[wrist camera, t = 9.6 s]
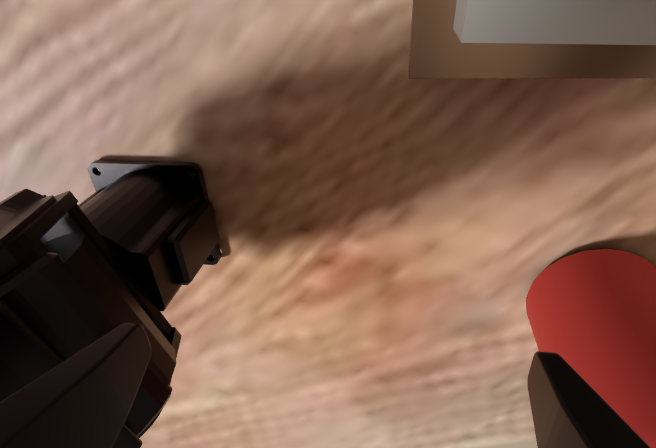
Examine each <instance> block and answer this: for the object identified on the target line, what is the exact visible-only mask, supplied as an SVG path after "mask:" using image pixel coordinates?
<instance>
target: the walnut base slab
mask: <svg viewBox="0 0 656 448" xmlns="http://www.w3.org/2000/svg"><path fill="white" fill-rule="evenodd" d="M456 3H457V0H413V10H412V27H411V44H410V61H409V79H476V78H656V45H605V44H526V43H461V41H460V39H459V38H458V36H457V34H456V32H455V31H454V29H453V26H454V18H455V11H456Z"/></svg>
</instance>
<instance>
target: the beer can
mask: <svg viewBox="0 0 656 448" xmlns="http://www.w3.org/2000/svg"><path fill="white" fill-rule="evenodd" d="M526 310H527V315H528V318H529V321H530V324H531V327H532V330H533V334H534V337H535V340H536V343H537V346H538V349H539V351H543V352H555V353H557V354H559V355H560V356H561V357H562V358H563V359H564V360H565V361H566V362H567V363H568V364H569V365H570V366H571V367H572V368H573V369H574V370H575V371H576V372H577V373H578V374H579V375H580V376H581V377H582V378H583V379H584V380H585V381H586V382H587V383H588V384H589V385H590V386H591V387H592V388H593V389H594V390H595V391H596V392H597V394H598V395H599V396H600V397H601V398H602V399H603V400H604V401H605V402H606V403H607V404H608V405H609V406H610V407H611V408H612V409H613V410H614V411H615V412H616V413H617V414H618V415H619V416H620V417H621V418H622V419H623V420H624V421H625V422H626V423H627V424H628V425H629V426H630V427H631V428H632V429H633V430H634V431H635V432H636V433H637V434H638V435H639V436H640V437H641V438H642V439H643V440H644V441H645V442H646V443H647V444H648V445H649V447H650V448H656V267H655V266H654V265H653V264H652V263H651V262H650V261H649V260H646V259H644V258H642V257H640V256H637V255H635V254H633V253H630V252H628V251H620V250H613V249H597V250H587V251H581V252H578V253H575V254H572V255H569V256H566V257H563V258H561V259H560V260H558V261H556V262H555V263H553V264H552V265H550V266H548V267H547V268H545V269H544V270H543V271H542V272H541V273H540V275H539V276H538V277H537V278H536V279H535V280H534V281H533V283H532V285H531V287H530V290H529V292H528V295H527V297H526Z"/></svg>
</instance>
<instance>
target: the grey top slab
mask: <svg viewBox="0 0 656 448" xmlns="http://www.w3.org/2000/svg"><path fill="white" fill-rule="evenodd" d="M453 29H454V31H455V32H456V34H457V36H458V38H459V39H460V41H461V43H526V44H605V45H656V0H457V3H456V11H455V18H454V26H453Z"/></svg>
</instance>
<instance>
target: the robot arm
mask: <svg viewBox="0 0 656 448" xmlns="http://www.w3.org/2000/svg"><path fill="white" fill-rule="evenodd" d="M97 168H98V169H99V170H100V171H101V172H99V171H98V169H97ZM189 170H192V171H193V172H194V174H195V175H192V174H191V173H190V172H189ZM88 171H89V174H90V177H91V179H92V182H93V184H94V187H95V190H96V192H95V193H94V194H93V195H91V196H90V197H89V198H87V199H86V200H85V201H83V202H82V203H81V204H79V205H77V202H78V201H77V199H76V198H75V197H74V195H73V194H72V193H71V192H70V191H67V192H65V193H62V194H60V195H57V196H55V197H54V196H53V195H52V196H49V197H47V196H46V195H40V194H38V193H35V192H33V191H31V190H28V189H24V190H22V191H19V192H17V193H15V194H13V195H12V196H10V197H8V198H7V199H5V200H3V201H2V202H0V448H140V447H141V445H142V441H141V440H140V439H139V438H140V437H141V436H142V435H143V434H144V433H145V432H146V431H147V430H148V429H149V428H150V427H151V425H152V424H153V423H154V421H155V420H156V419H157V417H158V416H159V414H160V412H161V411H162V409H163V407H164V405H165V404H166V402H167V401H168V399H169V398H170V395H171V392H172V387H171V386H170V383H171V378H172V374H173V371H174V368H175V366H176V357H177V352H178V348H179V344H180V339H181V334H180V333H179V332H178V331H177V329H176V328H175V327H172V326H171V325H170V324H169V322H168V321H167V320H166V318H165V317H164V316H163V315H162V313H161V312H160V311H164V310H165V308H166V307H167V306H168V304H169V303H170V301H171V300H172V298H173V297H174V296H175V294H176V293H177V291H178V290H179V288H180V287H181V285H188V284H189V283H190V282H191V281H192V280H193V278H194V277H195V275H196V274H197V272H198V271H199V270H200V268H201V267H202V265H203V264H208V265H215V264H217V263H218V261H219V260H220V258H221V252H220V248H219V244H218V241H219V239H220V238H219V233H218V229H217V224H216V220H215V215H214V211H213V206H212V203H211V202H210V200H208V195H207V191H206V186H205V182H204V178H203V173H202V170H201V168H200V167H199V165H197V164H196V163H192V162H156V161H110V160H97V161H94V162H93V163H91V164H90V165H89V166H88ZM210 255H212V256H214V257H211V256H210ZM528 391H529V397H530V403H531V409H532V415H533V421H534V427H535V433H536V439H537V446H538V448H650V447H649V445H648V444H647V443H646V442H645V441H644V440H643V439H642V438H641V437H640V436H639V435H638V434H637V433H636V432H635V431H634V430H633V429H632V428H631V427H630V426H629V425H628V424H627V423H626V422H625V421H624V420H623V419H622V418H621V417H620V416H619V415H618V414H617V413H616V412H615V411H614V410H613V409H612V408H611V407H610V406H609V405H608V404H607V403H606V402H605V401H604V400H603V399H602V398H601V397H600V396H599V395H598V394H597V392H596V391H595V390H594V389H593V388H592V387H591V386H590V385H589V384H588V383H587V382H586V381H585V380H584V379H583V378H582V377H581V376H580V375H579V374H578V373H577V372H576V371H575V370H574V369H573V368H572V367H571V366H570V365H569V364H568V363H567V362H566V361H565V360H564V359H563V358H562V357H561V356H560V355H559V354H557V353H555V352H543V351H538V352H536V353H535V354H534V357H533V360H532V364H531V367H530V371H529V375H528Z"/></svg>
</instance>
